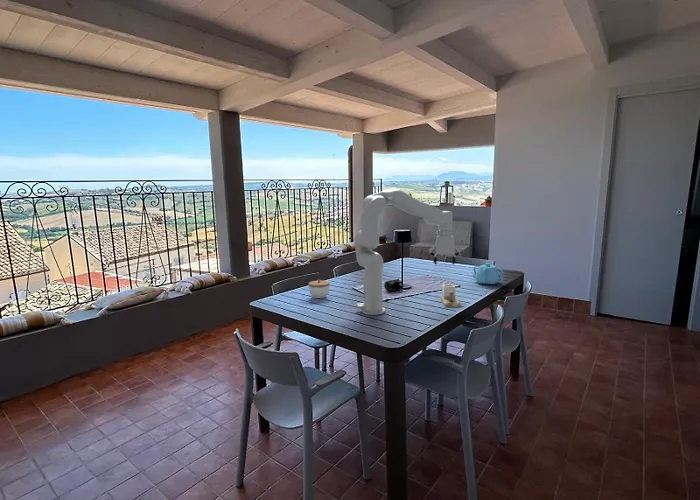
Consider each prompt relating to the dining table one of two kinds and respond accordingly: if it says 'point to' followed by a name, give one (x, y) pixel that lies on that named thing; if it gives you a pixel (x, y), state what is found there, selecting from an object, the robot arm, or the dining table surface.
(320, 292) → the lidded bowl
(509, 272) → the dining table surface
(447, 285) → the sleeve
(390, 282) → the end cap
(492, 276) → the decorative pot
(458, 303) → the pin board
